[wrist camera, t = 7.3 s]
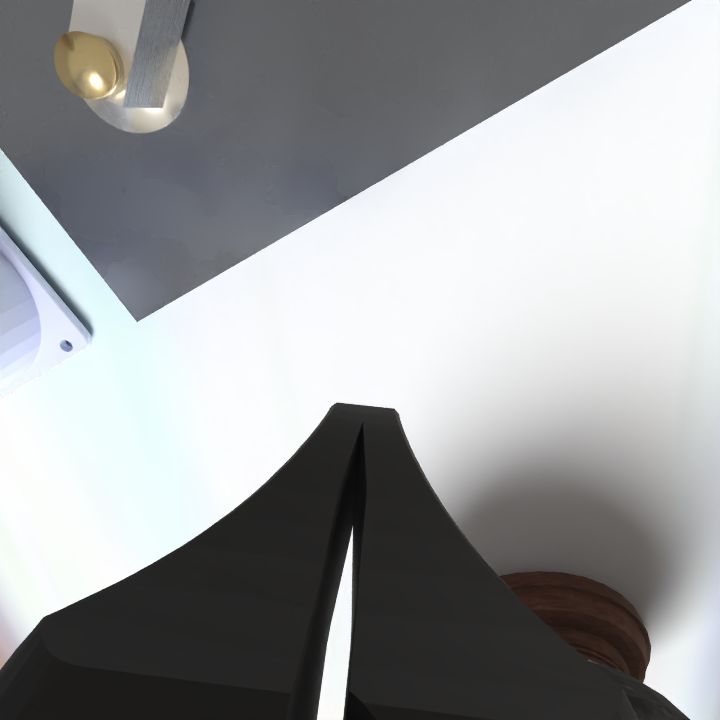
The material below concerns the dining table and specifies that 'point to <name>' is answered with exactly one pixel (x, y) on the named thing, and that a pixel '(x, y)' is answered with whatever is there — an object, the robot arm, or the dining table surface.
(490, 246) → the dining table surface
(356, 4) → the bolt plate
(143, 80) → the leg
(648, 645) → the black ball on base
